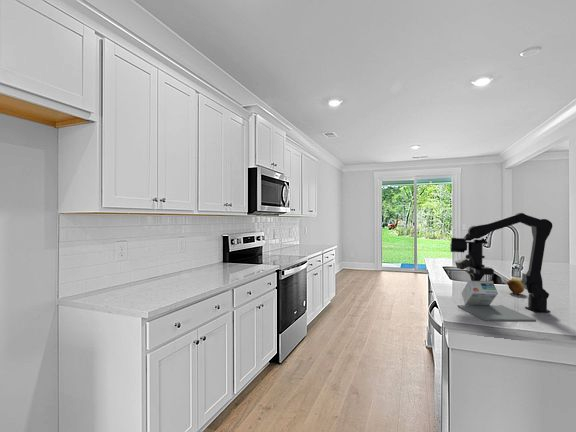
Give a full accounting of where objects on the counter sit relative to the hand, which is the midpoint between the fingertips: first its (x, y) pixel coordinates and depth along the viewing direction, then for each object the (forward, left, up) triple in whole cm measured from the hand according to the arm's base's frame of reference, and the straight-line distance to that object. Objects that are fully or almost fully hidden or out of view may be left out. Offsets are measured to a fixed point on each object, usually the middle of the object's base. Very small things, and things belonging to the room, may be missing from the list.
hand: (474, 286), depth 152 cm
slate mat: (-14, 0, -8) cm, 16 cm away
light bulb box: (0, 0, -6) cm, 6 cm away
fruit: (+21, -34, -8) cm, 41 cm away
